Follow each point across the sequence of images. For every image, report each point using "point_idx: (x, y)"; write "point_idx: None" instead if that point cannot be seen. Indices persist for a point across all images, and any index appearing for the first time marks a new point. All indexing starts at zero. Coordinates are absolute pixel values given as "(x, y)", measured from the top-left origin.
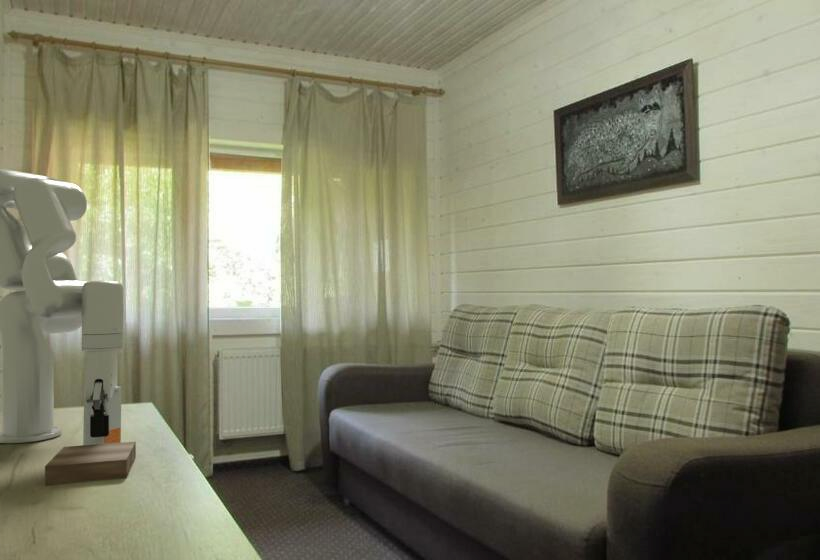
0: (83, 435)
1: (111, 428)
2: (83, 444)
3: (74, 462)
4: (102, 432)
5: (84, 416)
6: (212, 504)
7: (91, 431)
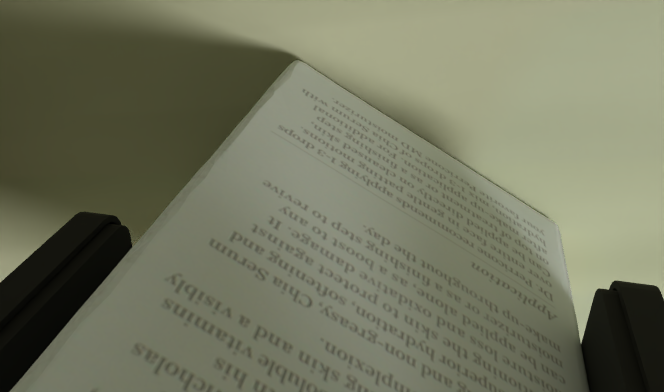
0: (241, 124)
1: None
2: (273, 84)
3: None
4: None
5: (92, 294)
6: None
7: (50, 253)
